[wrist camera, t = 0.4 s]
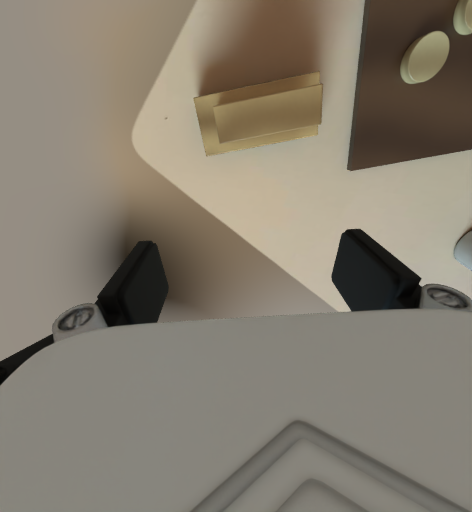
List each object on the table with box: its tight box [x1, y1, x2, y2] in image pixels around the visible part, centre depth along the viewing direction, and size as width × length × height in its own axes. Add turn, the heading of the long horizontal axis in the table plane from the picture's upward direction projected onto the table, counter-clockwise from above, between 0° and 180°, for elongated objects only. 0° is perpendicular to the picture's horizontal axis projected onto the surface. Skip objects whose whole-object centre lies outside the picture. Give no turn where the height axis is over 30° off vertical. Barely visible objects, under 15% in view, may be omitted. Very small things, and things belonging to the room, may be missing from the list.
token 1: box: [400, 31, 449, 84], centre depth 20 cm, size 4×4×1 cm
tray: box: [347, 0, 472, 171], centre depth 21 cm, size 20×20×1 cm
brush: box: [194, 71, 323, 156], centre depth 20 cm, size 5×12×10 cm, turn 100°
